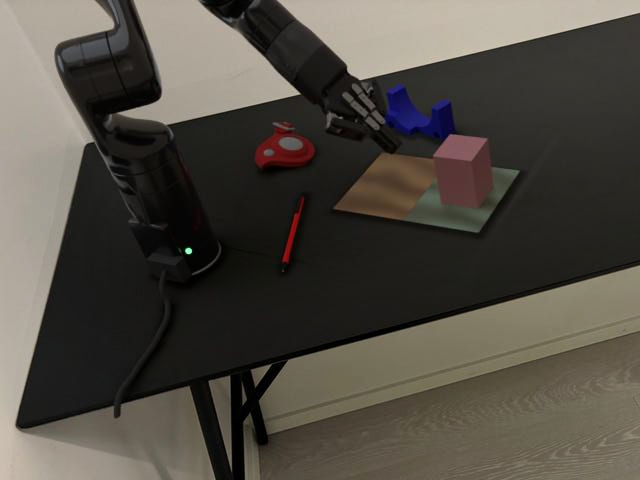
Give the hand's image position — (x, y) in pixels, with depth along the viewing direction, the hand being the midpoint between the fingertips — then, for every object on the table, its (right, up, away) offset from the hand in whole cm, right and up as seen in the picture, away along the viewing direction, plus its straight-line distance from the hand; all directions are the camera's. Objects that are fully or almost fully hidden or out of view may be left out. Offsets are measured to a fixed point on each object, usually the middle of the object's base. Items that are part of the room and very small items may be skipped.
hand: (397, 149), depth 123 cm
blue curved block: (+2, +7, +17) cm, 19 cm away
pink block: (+10, -6, +1) cm, 12 cm away
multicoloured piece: (+4, -6, +4) cm, 8 cm away
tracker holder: (-19, +3, +17) cm, 26 cm away
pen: (-15, -12, +1) cm, 20 cm away
